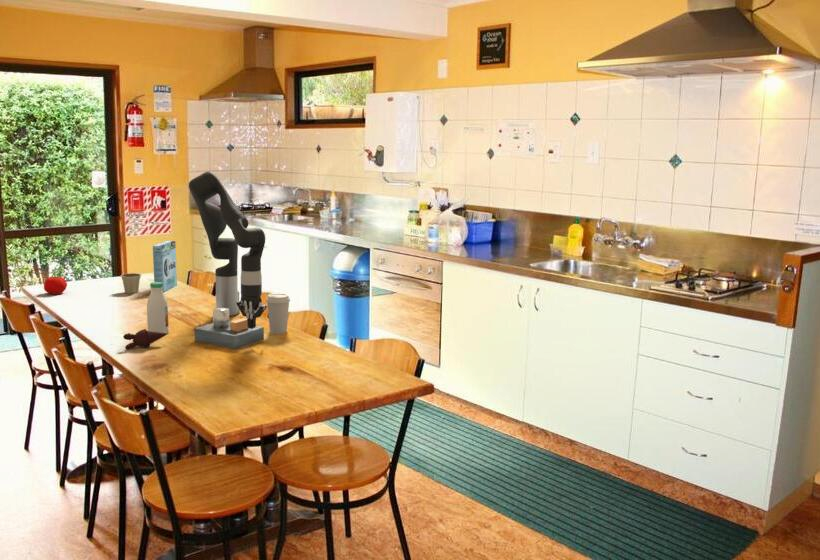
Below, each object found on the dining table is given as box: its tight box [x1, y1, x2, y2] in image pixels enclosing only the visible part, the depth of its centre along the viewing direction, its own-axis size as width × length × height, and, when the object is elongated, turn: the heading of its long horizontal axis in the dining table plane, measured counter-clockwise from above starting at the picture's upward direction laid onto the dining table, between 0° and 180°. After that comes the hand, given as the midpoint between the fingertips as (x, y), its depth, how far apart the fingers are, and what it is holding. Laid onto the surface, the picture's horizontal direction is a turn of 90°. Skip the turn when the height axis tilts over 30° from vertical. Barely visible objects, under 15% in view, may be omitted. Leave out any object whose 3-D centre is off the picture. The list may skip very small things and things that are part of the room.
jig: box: [193, 320, 265, 350], centre depth 283 cm, size 16×20×6 cm
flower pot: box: [120, 272, 142, 295], centre depth 363 cm, size 9×9×9 cm
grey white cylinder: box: [212, 308, 230, 328], centre depth 284 cm, size 6×6×11 cm
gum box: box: [152, 240, 178, 293], centre depth 373 cm, size 20×5×23 cm, turn 178°
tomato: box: [43, 276, 68, 295], centre depth 356 cm, size 9×10×8 cm
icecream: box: [123, 328, 167, 350], centre depth 272 cm, size 7×7×15 cm
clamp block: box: [230, 317, 248, 332], centre depth 280 cm, size 7×3×3 cm, turn 151°
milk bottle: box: [146, 281, 169, 334], centre depth 290 cm, size 8×8×20 cm
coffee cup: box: [265, 292, 291, 335], centre depth 296 cm, size 10×10×15 cm
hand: (251, 328), depth 277 cm, fingers closed
